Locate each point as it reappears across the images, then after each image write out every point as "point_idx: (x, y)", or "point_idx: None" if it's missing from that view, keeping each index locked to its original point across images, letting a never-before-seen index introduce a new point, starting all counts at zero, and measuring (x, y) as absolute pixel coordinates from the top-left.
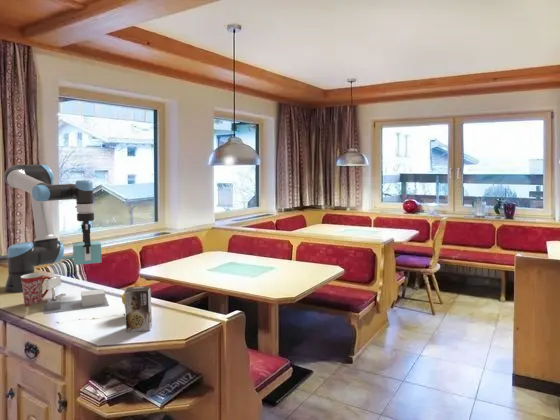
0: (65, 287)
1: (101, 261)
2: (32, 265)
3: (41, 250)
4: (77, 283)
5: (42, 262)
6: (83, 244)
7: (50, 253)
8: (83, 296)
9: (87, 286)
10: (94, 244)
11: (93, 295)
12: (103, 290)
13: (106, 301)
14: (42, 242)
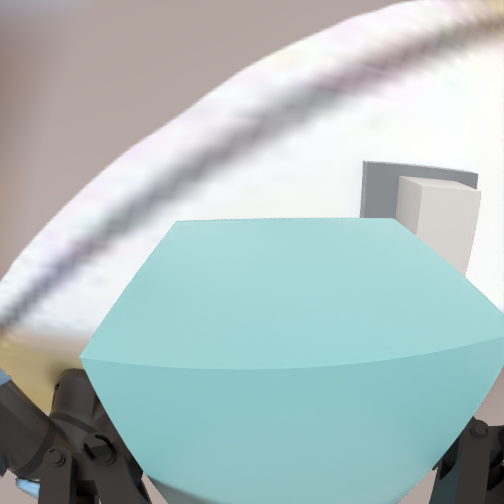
0: (96, 305)
1: (398, 223)
2: (71, 436)
3: (27, 454)
4: (50, 264)
5: (42, 416)
6: (369, 492)
7: (11, 419)
8: (464, 272)
9: (96, 228)
10: (477, 408)
11: (472, 236)
12: (443, 190)
13: (429, 171)
14: (2, 466)
